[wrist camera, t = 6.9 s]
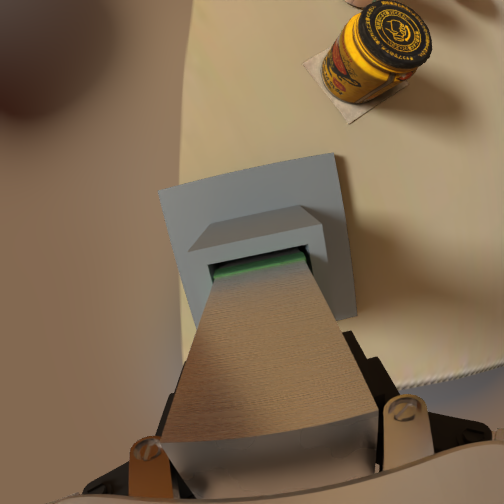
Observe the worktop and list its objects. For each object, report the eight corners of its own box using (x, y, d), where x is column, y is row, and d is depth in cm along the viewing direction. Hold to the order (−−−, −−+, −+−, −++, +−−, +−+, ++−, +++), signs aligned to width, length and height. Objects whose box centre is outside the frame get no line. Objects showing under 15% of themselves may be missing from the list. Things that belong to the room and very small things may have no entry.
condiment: (301, 64, 26) (327, 7, 14) (364, 28, 24) (413, -27, 13) (347, 124, 27) (402, 100, 16) (408, 85, 26) (476, 53, 14)
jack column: (294, 237, 22) (383, 405, 6) (306, 304, 24) (373, 506, 7) (222, 252, 23) (154, 439, 6) (238, 317, 24) (217, 528, 7)
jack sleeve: (329, 153, 28) (373, 145, 17) (353, 309, 32) (393, 372, 21) (162, 189, 29) (110, 203, 18) (204, 339, 33) (184, 411, 22)
